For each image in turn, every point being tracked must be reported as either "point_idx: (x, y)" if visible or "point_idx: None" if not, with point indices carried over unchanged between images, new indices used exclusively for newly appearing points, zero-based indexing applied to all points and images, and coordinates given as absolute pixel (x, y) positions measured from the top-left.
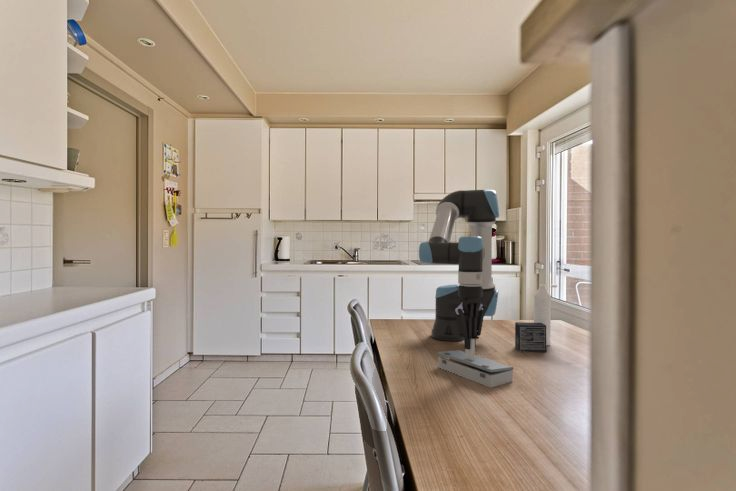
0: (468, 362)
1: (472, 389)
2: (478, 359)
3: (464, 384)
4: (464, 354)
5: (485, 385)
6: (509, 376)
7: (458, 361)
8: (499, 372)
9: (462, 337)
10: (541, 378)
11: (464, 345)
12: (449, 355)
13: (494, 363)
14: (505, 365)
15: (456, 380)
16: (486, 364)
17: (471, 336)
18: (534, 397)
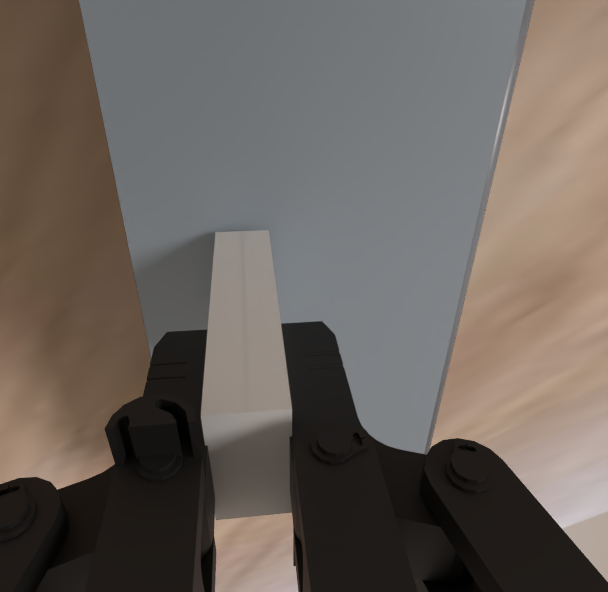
0: (147, 337)
1: (59, 390)
2: (353, 278)
3: (62, 315)
4: (399, 35)
5: None
6: None
7: None
8: None
9: (134, 410)
10: (558, 426)
11: (152, 364)
12: (93, 16)
13: (376, 398)
14: (407, 444)
15: (51, 230)
16: None
17: (210, 570)
18: (281, 536)
